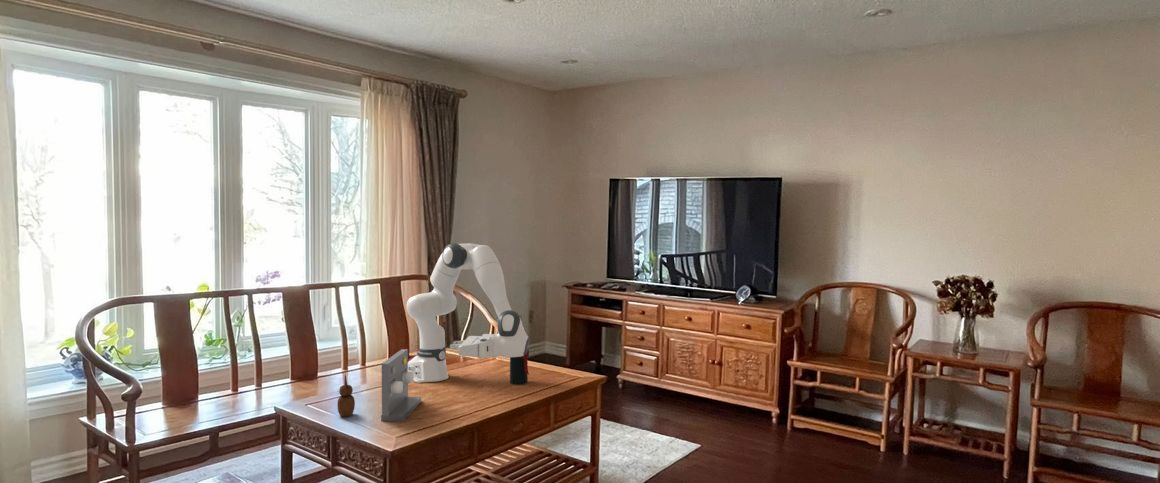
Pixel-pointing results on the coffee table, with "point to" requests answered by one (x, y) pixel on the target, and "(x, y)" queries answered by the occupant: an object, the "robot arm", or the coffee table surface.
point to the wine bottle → (519, 369)
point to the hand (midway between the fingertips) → (451, 345)
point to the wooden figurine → (346, 400)
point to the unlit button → (396, 387)
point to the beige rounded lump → (408, 377)
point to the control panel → (396, 404)
